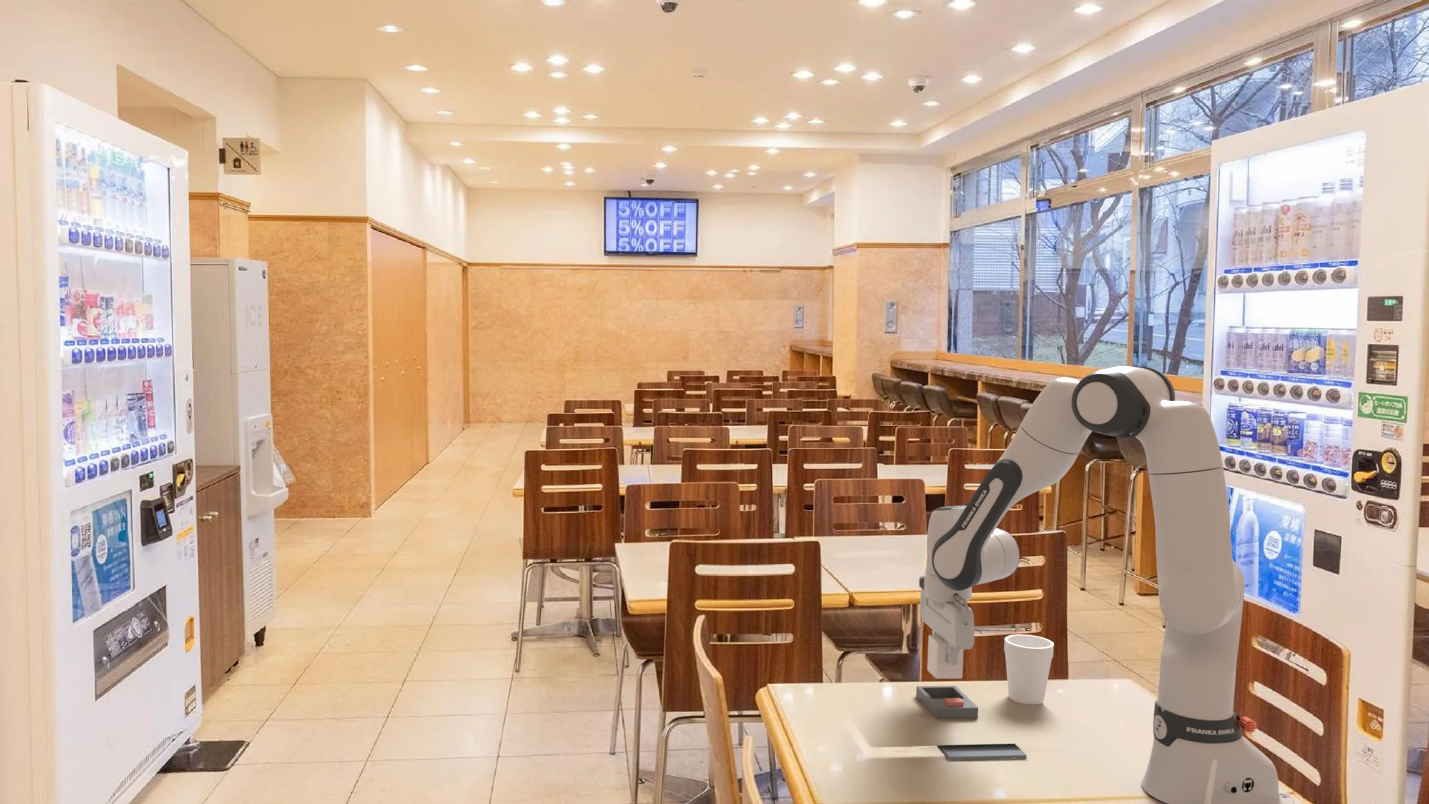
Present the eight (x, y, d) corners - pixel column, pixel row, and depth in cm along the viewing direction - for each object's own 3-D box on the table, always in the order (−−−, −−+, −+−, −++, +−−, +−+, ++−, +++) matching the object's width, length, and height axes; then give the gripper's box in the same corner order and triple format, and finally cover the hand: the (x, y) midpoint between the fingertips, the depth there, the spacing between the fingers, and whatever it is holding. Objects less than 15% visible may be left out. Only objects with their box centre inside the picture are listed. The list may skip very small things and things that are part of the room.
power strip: (954, 702, 207) (955, 681, 207) (977, 725, 195) (978, 703, 195) (915, 703, 206) (916, 682, 205) (936, 726, 194) (937, 704, 194)
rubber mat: (998, 731, 192) (999, 728, 192) (1026, 758, 180) (1026, 754, 180) (926, 733, 191) (926, 729, 190) (948, 760, 179) (949, 756, 179)
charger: (952, 669, 205) (954, 633, 204) (962, 678, 200) (963, 641, 199) (927, 669, 204) (928, 634, 204) (936, 678, 199) (937, 641, 198)
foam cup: (1056, 703, 208) (1059, 640, 207) (1043, 717, 200) (1047, 651, 199) (1008, 693, 213) (1011, 631, 212) (995, 707, 205) (998, 642, 204)
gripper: (984, 601, 191) (981, 675, 192) (945, 575, 211) (943, 642, 212) (951, 602, 190) (948, 676, 191) (915, 575, 210) (913, 642, 211)
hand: (945, 658), depth 202 cm, fingers closed on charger, 5 cm apart
